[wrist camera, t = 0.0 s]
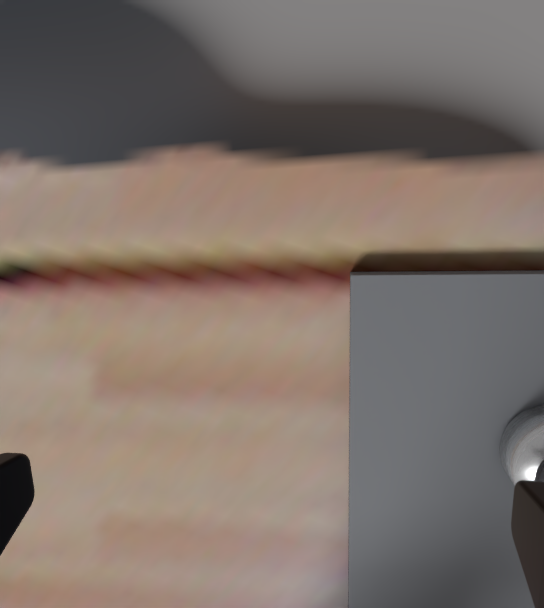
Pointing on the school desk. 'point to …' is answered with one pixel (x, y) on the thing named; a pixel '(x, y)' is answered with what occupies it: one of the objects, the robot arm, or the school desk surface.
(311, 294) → the school desk surface
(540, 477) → the glossy black ball
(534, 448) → the link
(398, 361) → the base plate
